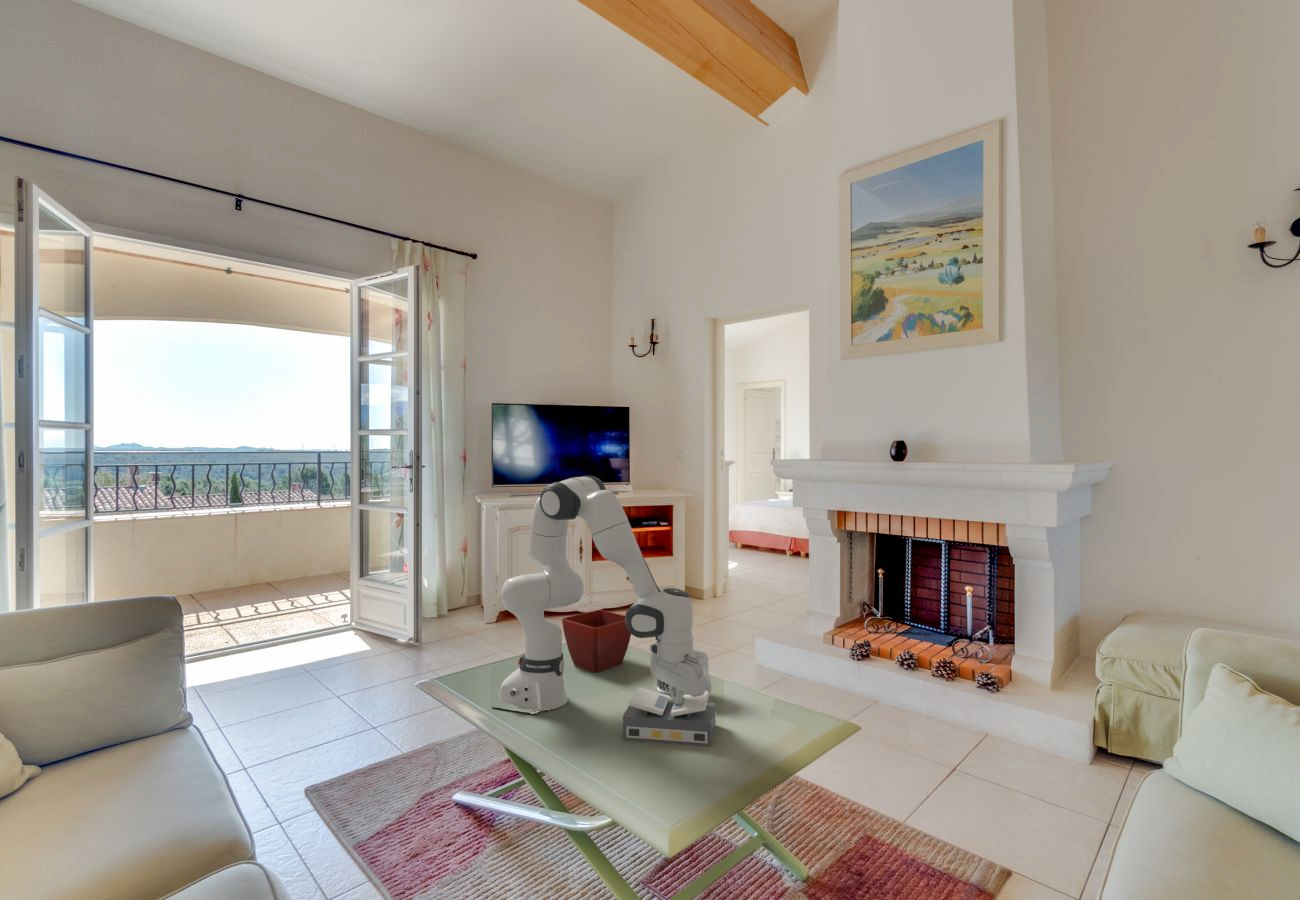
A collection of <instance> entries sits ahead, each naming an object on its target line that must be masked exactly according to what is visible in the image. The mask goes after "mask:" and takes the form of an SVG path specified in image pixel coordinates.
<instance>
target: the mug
mask: <svg viewBox="0 0 1300 900" xmlns="http://www.w3.org/2000/svg"><path fill="white" fill-rule="evenodd" d="M693 658H696V659H698V660H699V663H700V664H701V666H702V668H703V672H704V679H705V691H709V695H710V694H711V691H712V679H711V676H710V674H709V655H708V654H707V653H706V652H704V651H700V650H695V649H693ZM684 695H688V694H686V693H684Z"/></svg>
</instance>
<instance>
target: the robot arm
mask: <svg viewBox="0 0 1300 900" xmlns="http://www.w3.org/2000/svg"><path fill="white" fill-rule="evenodd" d="M577 517H578V518H582V519H583V520H584V521H585V523H586V525H587V526H588V530H589V532H590V536H591V537H592V541H593V543H594V545H595V547H596V549H597V551H598V552H599V554H600V555H601V557H602V558H604V559H605V560H607V561H610V562H613V563H614V564H616V565H619V566H620V567H621V569H623V570H624V571H625V572H626V574H627V577H628V579H629V581H630V583H631V586H632V587H633V590H634V592H635V594H636V597H637V601H636V602H634V603H633V604H632V605H630V606H629V608H628V609H627V610H626V612H625V615H624V616H625V624H626V627H627V629H628V631H629V632H630V633H631V635H632V636H634V637H636V638H638V639H646V638H647V639H648V638H655V637H656V636H659V637H660V642H658V643H656V642H654V643H651V644H650V645H649V651H650V653H651V654H650V664H649V665H650V672H651V675H652V677H653V678H655V679H656V680H657V679H658V680H660V681H662V682H664V683H666V684H668V685H669V689H670V692H671V694H670V695H671V700H672V702H674V703H675V704H677V705H680V704H682V702H683V696H684V693H686V694H688V695H690V696H692V697H697V696H701V695H703V694H704V693H705V679H704V672H703V668H702V666H701V664H700V663H699V660H698V659H696V658H693V650H694V636H693V633H692V632H693V631H692V630H693V629H692V628H693V624H694V620H693V619H694V616H693V603H692V598H691V597H690V594H688V592H686V591H685V590H683V589H680V588H674V587H671V588H670V587H667V588H664V589H662V590H661V589H660V588H659V587H658V585H657V583H656V580H655V579H654V577H653V574H652V572H651V570H650V568H649V565H648V564H647V561H646V559H645V557H644V554H643V553H642V551H641V549H640V546H639V544H638V542H637V540H636V537H635V534H634V532H633V530H632V527H631V524H630V521H629V519H628V517H627V514H626V512H625V510H624V508H623V506H622V504H621V503H620V501H619V499H618V498H617V496H616V494H615V493H614V492H613V491H611V490H608V489H607V488H606V486H605V484H604V482H603V481H602V480H601V479H600V478H598V477H596V476H593V475H583V476H578V477H577V476H575V477H569V478H567V479H563V480H561V481H555V482H553V483H550V484H549V485H547V486H545V488H543V490H542V491H541V492H540V495H539V496H538V498H537V499H536V501H535V504H534V507H533V510H532V515H531V520H530V528H529V538H528V550H527V551H528V555H529V557H530V559H531V560H532V561H534V562H535V563H537V564H539V565H542V566H544V570H543V572H539V573H538V572H536V573H528V574H519V575H517V576H513V577H510V578H508V579H506V580H505V581H504V583H503V584H502V586H501V590H500V601H501V603H502V605H503V607H504V609H506V610H507V611H508V612H509V613H511V614H513V615H514V617H516V619H517V620H518V621H519V622H520V625H521V627H522V630H523V638H524V640H523V641H524V653H522V656H520V657H519V659H518V660H517V664H516V665H517V666H519V667H517V669H515V670H514V671H513V672H512V673H510V674H509V675H508V676H506V678H505V679H504V680H503V682H502V683H501V685H500V689H499V693H498V694H499V701H501V702H505V703H509V704H513V705H515V706H516V707H517V706H518V707H517V708H519V709H522V710H526V711H530V712H536V711H541V710H544V709H553V710H555V709H554V708H556V709H559V708H561V707H564V706H565V705H566V704H567V702H568V699H569V698H568V696H567V693H566V687H565V684H564V683H565V682H564V676H563V675H564V674H563V673H564V667H565V666H564V665H565V664H564V663H565V662H564V661H565V660H564V653H563V646H562V645H563V644H562V643H563V642H562V640H563V639H562V637H563V635H562V634H563V633H562V629H561V627H560V625H559V624H558V623H557V622H555V621H553V620H551V619H547V618H545V614H544V613H545V610H549V609H556V608H563V607H568V606H570V605H573V604H575V603H577V602H579V601H580V600H581V598H582V597H583V594H584V589H585V586H584V585H585V584H584V581H583V579H582V577H581V575H580V574H579V573H578V572H576V570H574V569H573V568H572V567H571V565H570V564H569V561H568V559H567V558H568V557H567V537H568V528H569V526H568V525H569V520H575V519H576V518H577ZM560 706H561V707H560ZM558 707H559V708H558ZM527 709H528V710H527ZM529 709H532V710H529Z"/></svg>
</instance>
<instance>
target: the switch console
mask: <svg viewBox="0 0 1300 900" xmlns="http://www.w3.org/2000/svg"><path fill="white" fill-rule="evenodd" d="M673 705H674V702H672V699H669V700H668V703H667V705H666V708H665V710H664V713H663V715H658V714H655V713H652V712H648V711H645V710H642V709H639V708H635V707H632V706H629V705H628V707H627V708H626V710H625V712H624V713H623V715H622V740H623V741H633V742H646V743H657V744H658V743H659V744H672V745H683V746H684V745H685V746H696V747H709V748H710V747H712V745H713V739H714V736H715V730H716V702H707V706H706V710H705V711H699V712H694V713H688V714H683V715H677V716H671V711H672V708H673Z"/></svg>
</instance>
